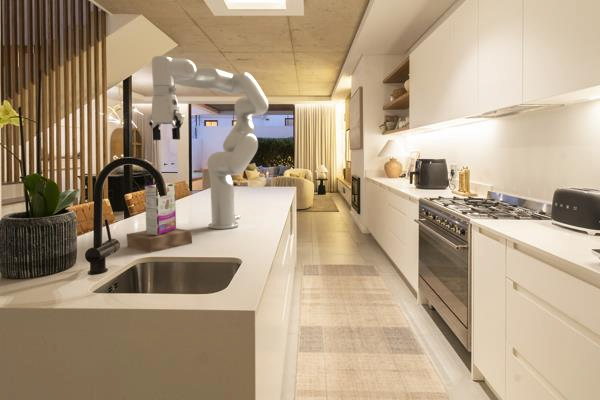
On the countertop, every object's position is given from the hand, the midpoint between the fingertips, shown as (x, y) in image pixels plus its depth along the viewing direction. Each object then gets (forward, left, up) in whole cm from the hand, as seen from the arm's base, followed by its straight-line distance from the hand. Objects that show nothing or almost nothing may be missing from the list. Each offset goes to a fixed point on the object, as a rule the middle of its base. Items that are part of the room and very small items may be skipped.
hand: (166, 139), depth 152 cm
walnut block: (+12, +7, -37) cm, 39 cm away
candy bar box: (+12, +8, -32) cm, 35 cm away
